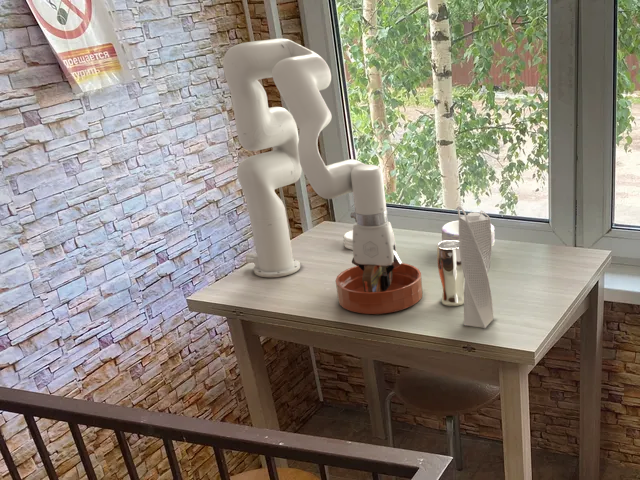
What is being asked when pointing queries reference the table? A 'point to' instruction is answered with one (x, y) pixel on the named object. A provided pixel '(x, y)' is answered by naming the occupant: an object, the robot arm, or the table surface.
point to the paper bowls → (457, 231)
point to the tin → (373, 278)
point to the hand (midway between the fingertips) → (379, 287)
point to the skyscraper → (476, 267)
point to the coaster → (348, 240)
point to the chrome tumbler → (450, 272)
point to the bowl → (394, 299)
